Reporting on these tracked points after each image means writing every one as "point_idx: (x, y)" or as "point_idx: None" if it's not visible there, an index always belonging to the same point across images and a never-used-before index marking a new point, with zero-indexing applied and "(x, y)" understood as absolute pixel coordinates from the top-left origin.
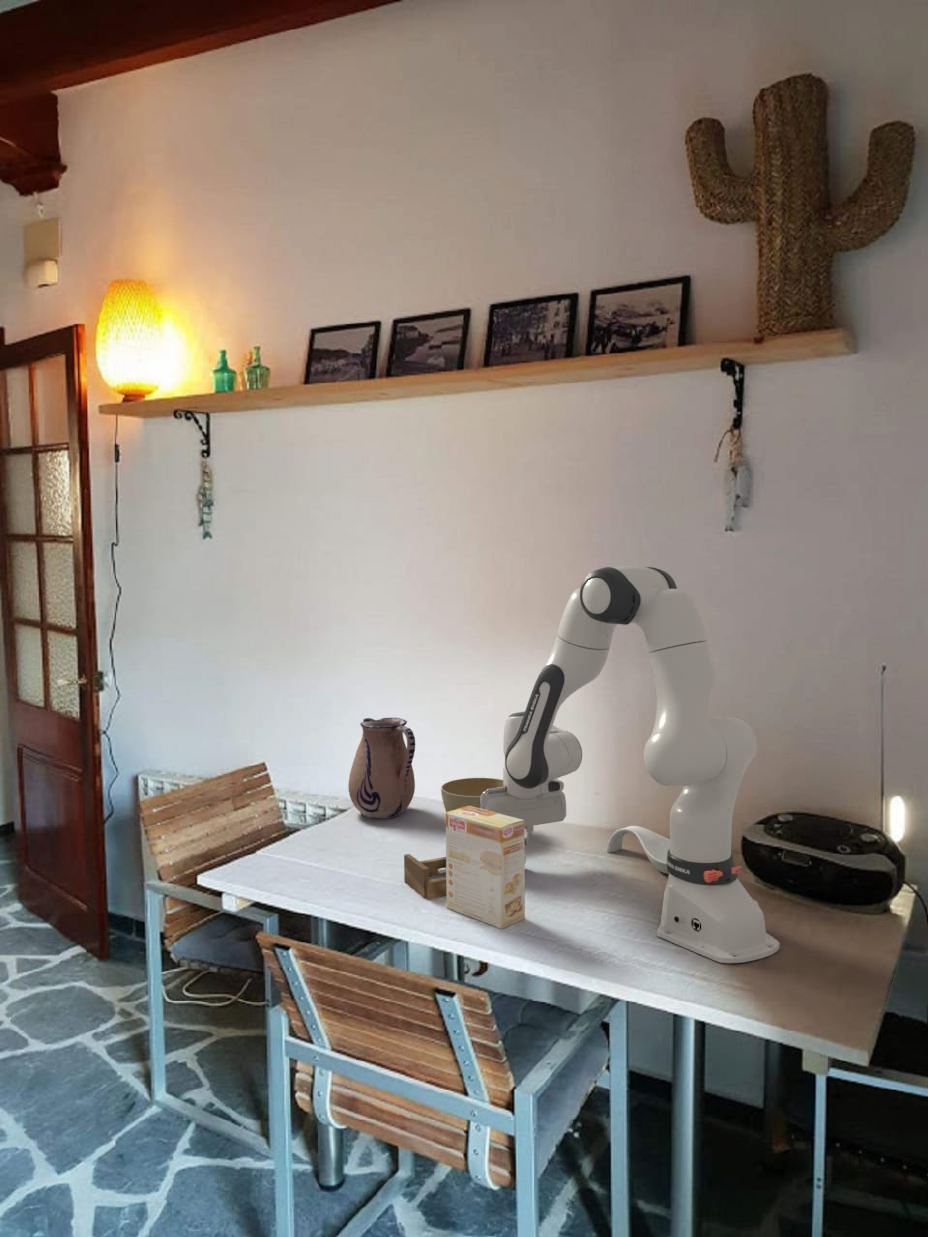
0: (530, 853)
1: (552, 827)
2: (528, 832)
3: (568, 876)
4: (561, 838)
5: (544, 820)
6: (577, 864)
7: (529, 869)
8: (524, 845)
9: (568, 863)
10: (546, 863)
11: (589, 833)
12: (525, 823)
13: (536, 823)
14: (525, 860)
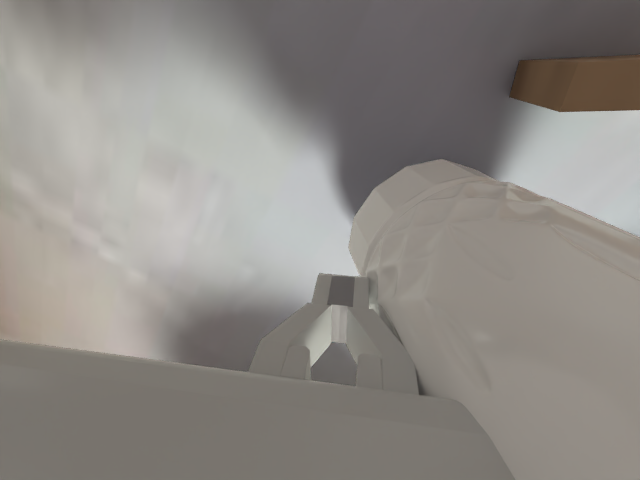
0: (259, 312)
1: None
2: (303, 337)
3: (198, 15)
4: (137, 348)
5: (109, 387)
6: (123, 153)
7: (335, 197)
8: (346, 276)
9: (158, 180)
10: (242, 220)
11: (58, 339)
12: (348, 421)
13: (212, 382)
14: (370, 200)
